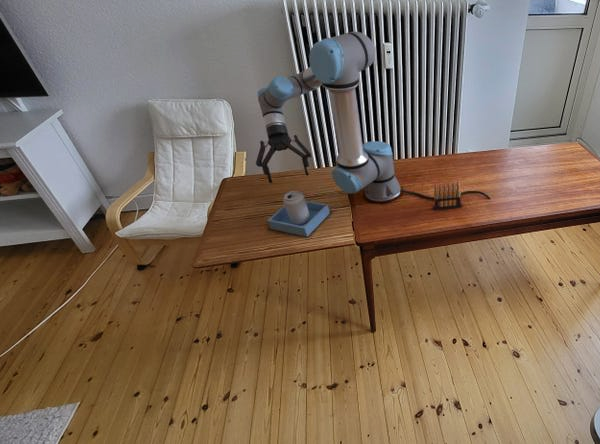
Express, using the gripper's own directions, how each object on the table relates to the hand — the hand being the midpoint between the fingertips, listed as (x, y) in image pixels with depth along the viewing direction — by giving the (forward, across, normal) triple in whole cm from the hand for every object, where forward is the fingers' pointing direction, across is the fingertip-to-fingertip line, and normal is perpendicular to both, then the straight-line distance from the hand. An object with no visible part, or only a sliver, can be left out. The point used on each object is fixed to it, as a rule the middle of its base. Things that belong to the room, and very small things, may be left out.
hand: (289, 178), depth 145 cm
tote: (+17, 0, -4) cm, 17 cm away
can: (+16, 0, -4) cm, 17 cm away
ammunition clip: (+27, -57, +7) cm, 63 cm away
